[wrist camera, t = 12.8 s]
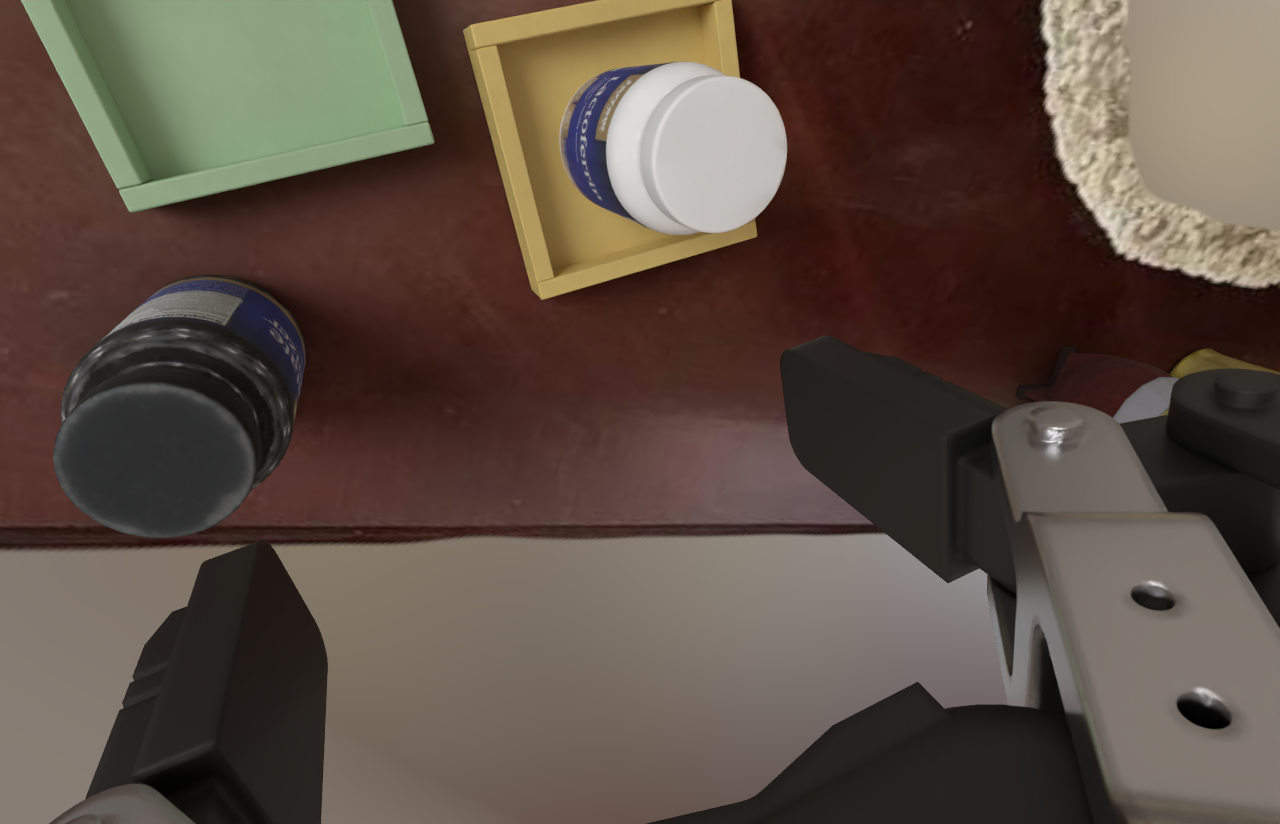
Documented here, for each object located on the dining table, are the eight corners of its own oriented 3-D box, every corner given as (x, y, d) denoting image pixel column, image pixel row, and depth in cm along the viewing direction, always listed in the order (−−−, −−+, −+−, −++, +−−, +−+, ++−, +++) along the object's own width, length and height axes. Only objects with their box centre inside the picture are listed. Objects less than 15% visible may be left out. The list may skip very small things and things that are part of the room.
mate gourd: (1030, 338, 45) (1305, 433, 32) (1114, 342, 47) (1398, 430, 35) (993, 446, 47) (1234, 574, 34) (1075, 443, 50) (1326, 560, 37)
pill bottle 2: (555, 63, 28) (644, 45, 20) (685, 73, 30) (816, 61, 22) (555, 210, 31) (634, 251, 22) (675, 211, 33) (791, 249, 24)
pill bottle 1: (316, 408, 31) (301, 543, 21) (152, 424, 29) (54, 582, 19) (294, 266, 28) (265, 347, 19) (113, 273, 26) (-21, 368, 17)
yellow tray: (462, 29, 27) (469, 24, 26) (707, -18, 30) (729, -26, 28) (531, 290, 32) (541, 300, 30) (738, 230, 35) (757, 237, 33)
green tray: (-35, -152, 21) (-70, -174, 19) (329, -192, 24) (327, -215, 22) (144, 206, 26) (129, 213, 24) (430, 141, 28) (435, 143, 27)
